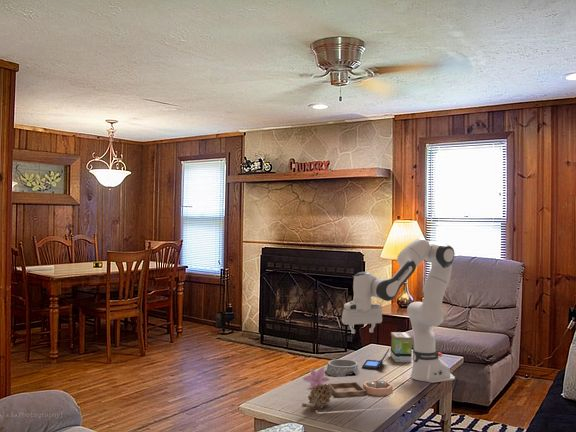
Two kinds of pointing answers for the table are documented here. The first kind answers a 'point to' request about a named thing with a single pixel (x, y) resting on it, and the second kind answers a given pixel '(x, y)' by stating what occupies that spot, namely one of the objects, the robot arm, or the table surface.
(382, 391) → the bowl
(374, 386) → the pebble
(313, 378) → the lily
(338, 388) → the tray
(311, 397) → the pine cone
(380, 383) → the grey rounded cylinder
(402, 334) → the tea box
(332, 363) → the dog bowl
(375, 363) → the handheld game console
